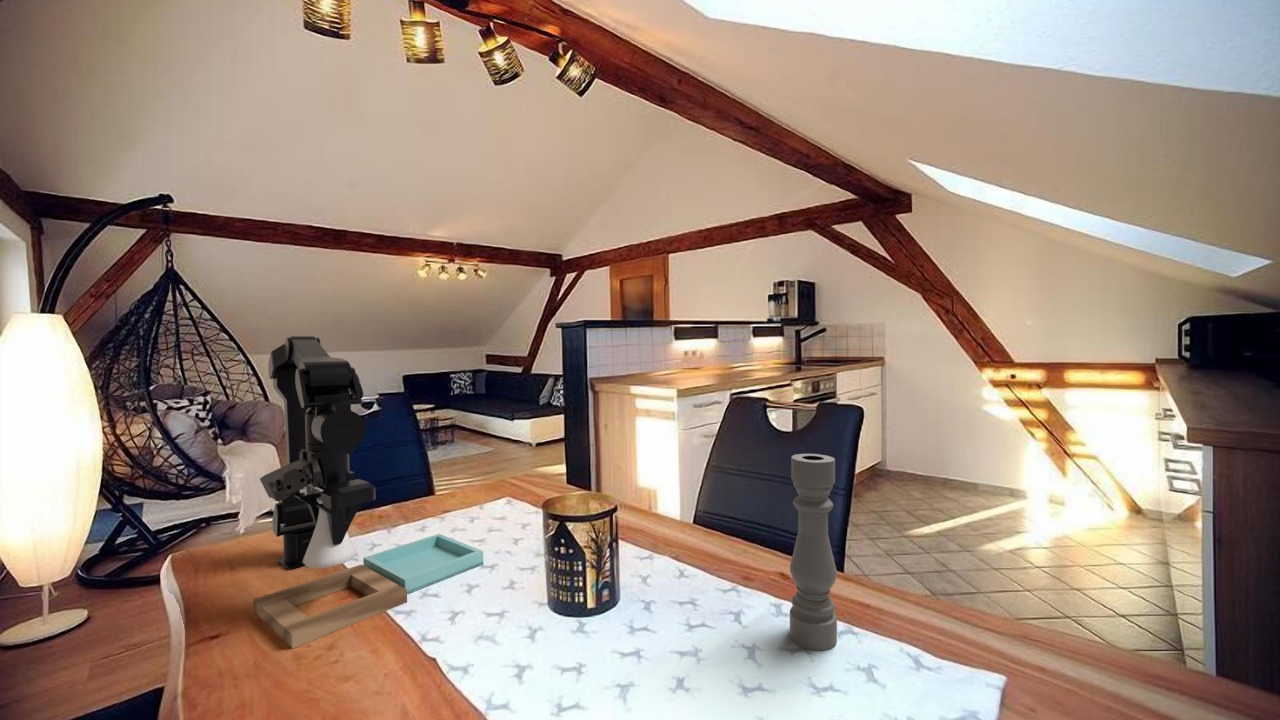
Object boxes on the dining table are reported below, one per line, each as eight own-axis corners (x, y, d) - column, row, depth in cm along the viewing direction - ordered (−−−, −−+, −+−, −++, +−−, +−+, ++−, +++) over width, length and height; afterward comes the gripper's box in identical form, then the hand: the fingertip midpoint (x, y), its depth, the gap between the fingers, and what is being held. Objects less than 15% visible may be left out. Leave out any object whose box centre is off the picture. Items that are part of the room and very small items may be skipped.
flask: (292, 564, 79) (291, 500, 79) (338, 548, 86) (337, 488, 86) (321, 573, 76) (319, 506, 76) (367, 555, 83) (365, 493, 82)
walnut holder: (253, 612, 80) (253, 599, 80) (361, 575, 92) (361, 564, 92) (292, 648, 70) (292, 634, 70) (407, 602, 83) (406, 589, 83)
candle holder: (813, 655, 67) (813, 465, 67) (780, 632, 73) (779, 456, 72) (847, 642, 70) (847, 459, 70) (812, 621, 76) (812, 451, 75)
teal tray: (363, 571, 94) (363, 557, 94) (439, 545, 106) (439, 533, 106) (405, 595, 85) (405, 580, 85) (483, 564, 97) (483, 551, 97)
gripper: (245, 442, 80) (248, 542, 80) (290, 458, 68) (293, 574, 69) (324, 432, 89) (327, 522, 89) (376, 444, 77) (378, 548, 78)
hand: (330, 540), depth 81 cm, fingers closed on flask, 5 cm apart
